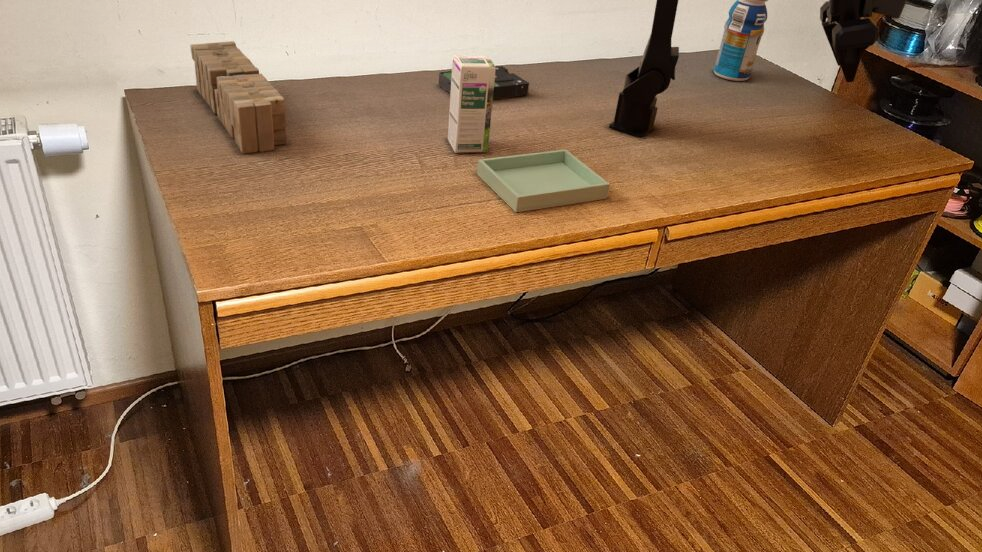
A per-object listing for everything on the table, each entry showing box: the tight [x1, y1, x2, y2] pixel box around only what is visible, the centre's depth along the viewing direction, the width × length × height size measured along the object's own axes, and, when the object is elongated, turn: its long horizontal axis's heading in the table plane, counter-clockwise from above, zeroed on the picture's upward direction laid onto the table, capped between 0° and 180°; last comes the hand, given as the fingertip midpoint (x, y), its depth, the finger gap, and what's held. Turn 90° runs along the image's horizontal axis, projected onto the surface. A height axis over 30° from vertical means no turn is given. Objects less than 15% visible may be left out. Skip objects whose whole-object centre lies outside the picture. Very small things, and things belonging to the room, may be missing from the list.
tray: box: [476, 149, 611, 213], centre depth 124 cm, size 16×13×2 cm
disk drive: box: [438, 65, 530, 100], centre depth 156 cm, size 10×3×15 cm
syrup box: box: [447, 55, 496, 154], centre depth 130 cm, size 6×6×14 cm
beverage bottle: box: [713, 0, 769, 82], centre depth 174 cm, size 8×8×20 cm
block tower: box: [189, 40, 288, 154], centre depth 133 cm, size 8×8×29 cm
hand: (845, 73), depth 136 cm, fingers open, 9 cm apart
